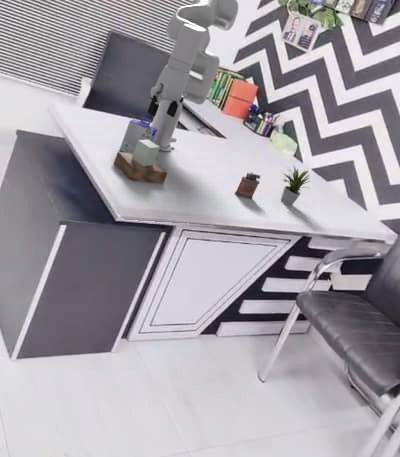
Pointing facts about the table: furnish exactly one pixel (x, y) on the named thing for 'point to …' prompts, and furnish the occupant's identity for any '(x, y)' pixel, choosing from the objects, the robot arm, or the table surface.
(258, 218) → the table surface
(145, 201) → the table surface
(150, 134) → the ink cartridge box
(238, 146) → the table surface
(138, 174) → the walnut block
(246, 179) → the lighter
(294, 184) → the house plant
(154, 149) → the sage box
